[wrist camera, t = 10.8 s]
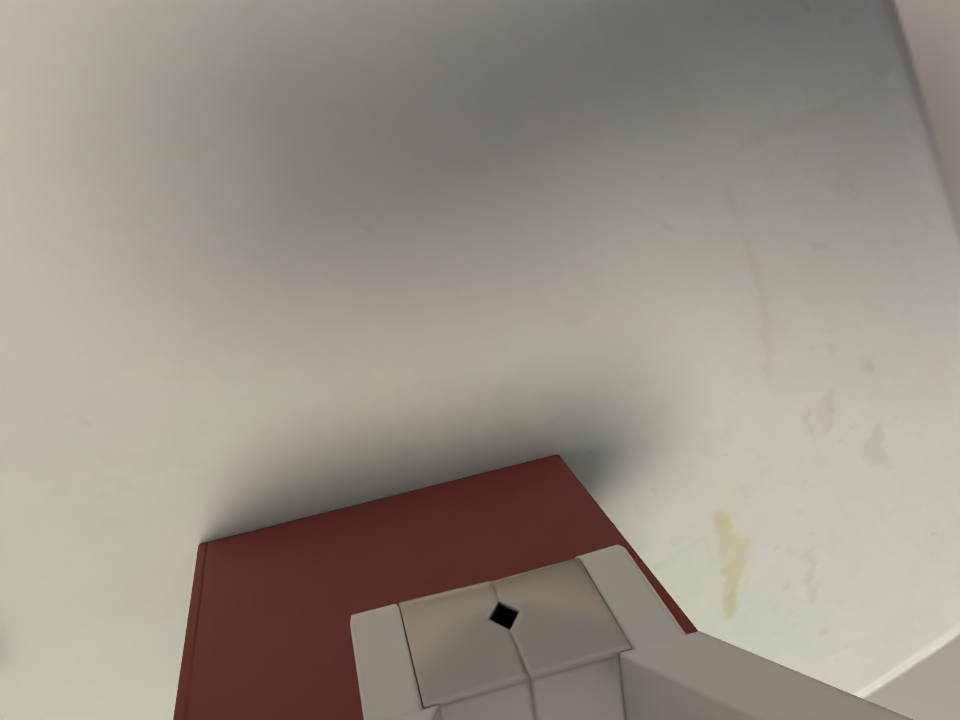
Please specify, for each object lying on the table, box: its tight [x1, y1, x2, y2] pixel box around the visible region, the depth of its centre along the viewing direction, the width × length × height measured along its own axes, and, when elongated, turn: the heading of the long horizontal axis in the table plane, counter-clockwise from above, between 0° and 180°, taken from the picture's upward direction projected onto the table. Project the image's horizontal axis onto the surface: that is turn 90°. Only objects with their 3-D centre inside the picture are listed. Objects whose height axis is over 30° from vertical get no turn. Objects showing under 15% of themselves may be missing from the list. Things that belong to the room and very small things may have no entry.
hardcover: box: [173, 455, 698, 720], centre depth 25 cm, size 3×13×16 cm, turn 99°
